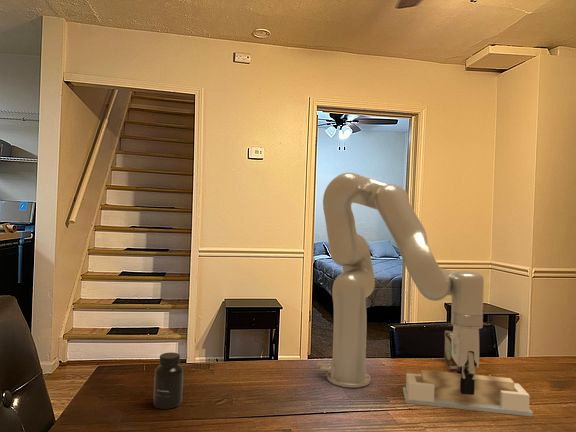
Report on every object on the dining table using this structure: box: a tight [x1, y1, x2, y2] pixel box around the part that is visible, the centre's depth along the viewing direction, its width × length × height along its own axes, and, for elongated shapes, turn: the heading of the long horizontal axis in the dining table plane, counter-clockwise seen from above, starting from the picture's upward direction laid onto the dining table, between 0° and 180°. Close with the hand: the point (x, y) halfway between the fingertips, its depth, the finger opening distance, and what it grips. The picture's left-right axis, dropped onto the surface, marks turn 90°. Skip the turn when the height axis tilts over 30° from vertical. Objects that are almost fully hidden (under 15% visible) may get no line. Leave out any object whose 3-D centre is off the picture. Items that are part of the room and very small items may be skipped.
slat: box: [420, 369, 515, 405], centre depth 108 cm, size 22×3×6 cm, turn 80°
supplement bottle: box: [153, 352, 184, 410], centre depth 103 cm, size 7×7×12 cm
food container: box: [444, 330, 458, 372], centre depth 135 cm, size 12×6×10 cm, turn 168°
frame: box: [402, 372, 534, 418], centre depth 109 cm, size 30×8×5 cm, turn 79°
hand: (465, 389), depth 109 cm, fingers open, 3 cm apart
